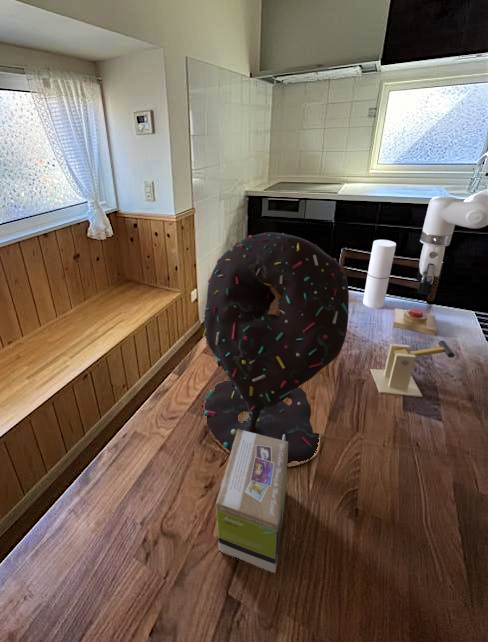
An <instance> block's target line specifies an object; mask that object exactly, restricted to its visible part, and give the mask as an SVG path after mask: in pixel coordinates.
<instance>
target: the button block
mask: <svg viewBox="0 0 488 642" xmlns="http://www.w3.org/2000/svg"><path fill="white" fill-rule="evenodd" d="M410 309H411V308H409V309H401V308H396V307H395V308H394V310H393V318H392V319H393V320H392V328H393V329H394V328H395V329H400V330H405V331H408V332H409V331H410V332H414V333H419V334H423V335H429V336H433V337H436V335H437V331H438V328H437V322H436V315H434V314H429V313H425V312H424V311H423V314H422V317H420V318H417V317H413V316H411V315H410V314H409V313H410Z"/></svg>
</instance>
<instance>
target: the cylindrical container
mask: <svg viewBox="0 0 488 642" xmlns="http://www.w3.org/2000/svg"><path fill="white" fill-rule="evenodd" d="M396 247H397V243H396V242H395V241H392V240H389V239H375V240H373V242H372V248H371V253H370V258H369V264H368V270H367V276H366V281H365V287H364V293H363V298H362V304H363V305H364V306H366V307H368V308H369V309H370V308H371V309H381V308H383V307H384V305H385V301H386V297H387V296H386V295H387V290H388V287H389V283H390V282H389V281H390V276H391V272H392V271H391V270H392V267H393V266H392V265H393V262H394V257H395V252H396Z"/></svg>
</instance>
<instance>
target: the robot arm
mask: <svg viewBox="0 0 488 642" xmlns="http://www.w3.org/2000/svg"><path fill="white" fill-rule="evenodd" d="M456 226H459V227H463V228H468V229H481V228H484V227H486V226H488V188H486V189H483V190H481V191H479V192H477V193H474V194H472V195H469V197H468V196H467V198H466V199H464V200H463V201H461V200H460V199H459V198H457V197H454V196H441V195H440V196H435V197H432V198H431V199H430V200H429V203H428V206H427V211H426V215H425V218H424V223H423V226H422V231H421V234H420V238H419V242H420V243H421V244H423V245H422V249H421V253H420V256H419V257H420V259H419V264H418V265H419V266H418V267H419V269H418V272H417V276H416V281H417V282H419V284H418V288H417V294H419V295H423V296H424V295H425V296H430V295H431V292H432V288H433V285H434V283H433V281H434V277H435V278H438V277H439V276H440V275H441V270H442V265H443V261H444V256H445V250H446V247H448V246H450V244H451V241H452V238H453V234H454V230H455V227H456Z"/></svg>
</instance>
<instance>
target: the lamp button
mask: <svg viewBox="0 0 488 642" xmlns="http://www.w3.org/2000/svg"><path fill="white" fill-rule="evenodd" d="M409 309H410V313H409V314H410V315H411V316H413V317H417V318H420V317H422V314H423V312H424V311H423V310H422V309H420V308H417V307H411V308H409Z"/></svg>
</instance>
